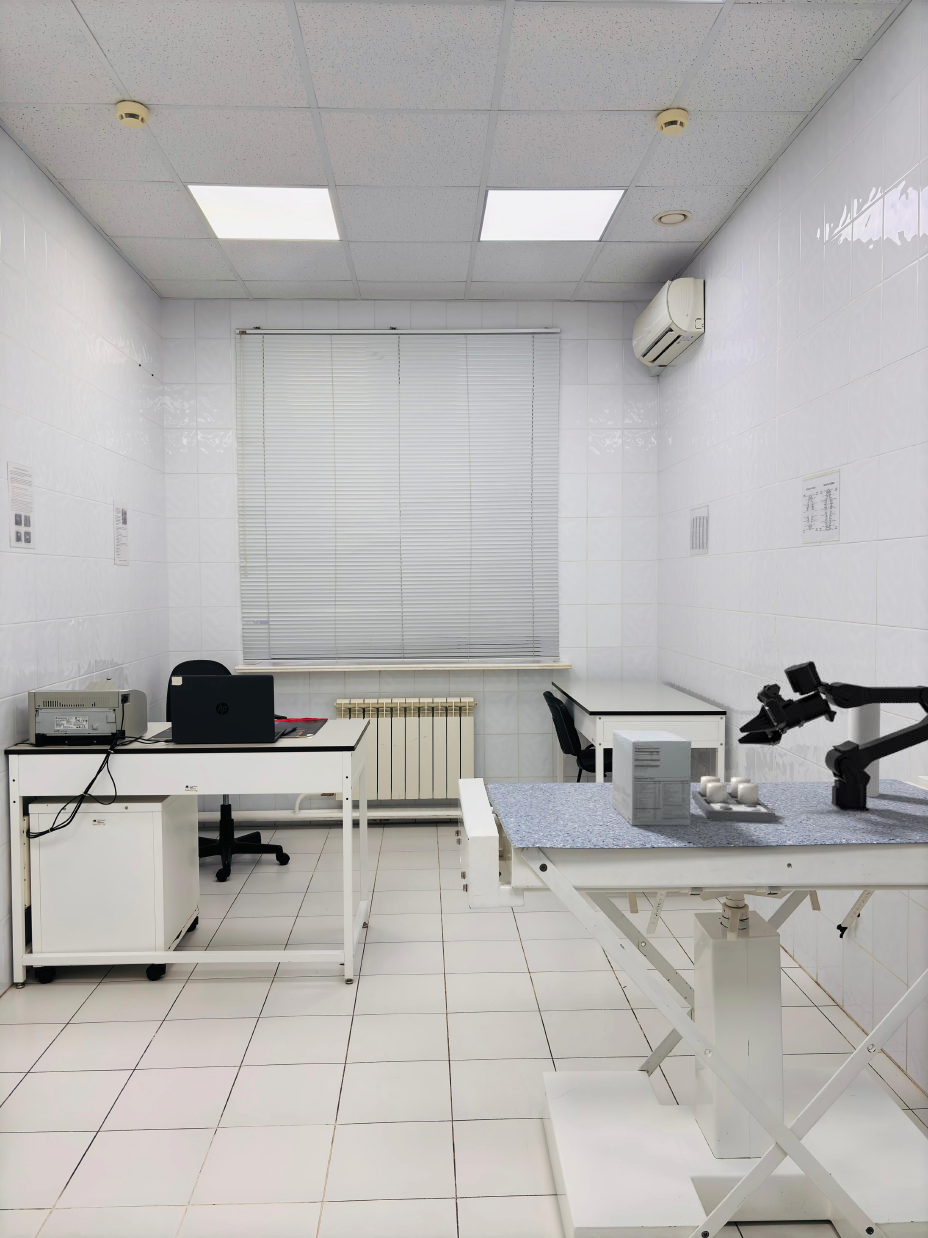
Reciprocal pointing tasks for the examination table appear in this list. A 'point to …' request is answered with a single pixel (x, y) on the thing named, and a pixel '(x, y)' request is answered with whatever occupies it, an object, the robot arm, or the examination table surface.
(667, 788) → the supplement box
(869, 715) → the cylindrical container
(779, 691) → the robot arm
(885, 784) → the examination table surface
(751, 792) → the button
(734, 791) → the button
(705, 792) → the button
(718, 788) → the button
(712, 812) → the button board
